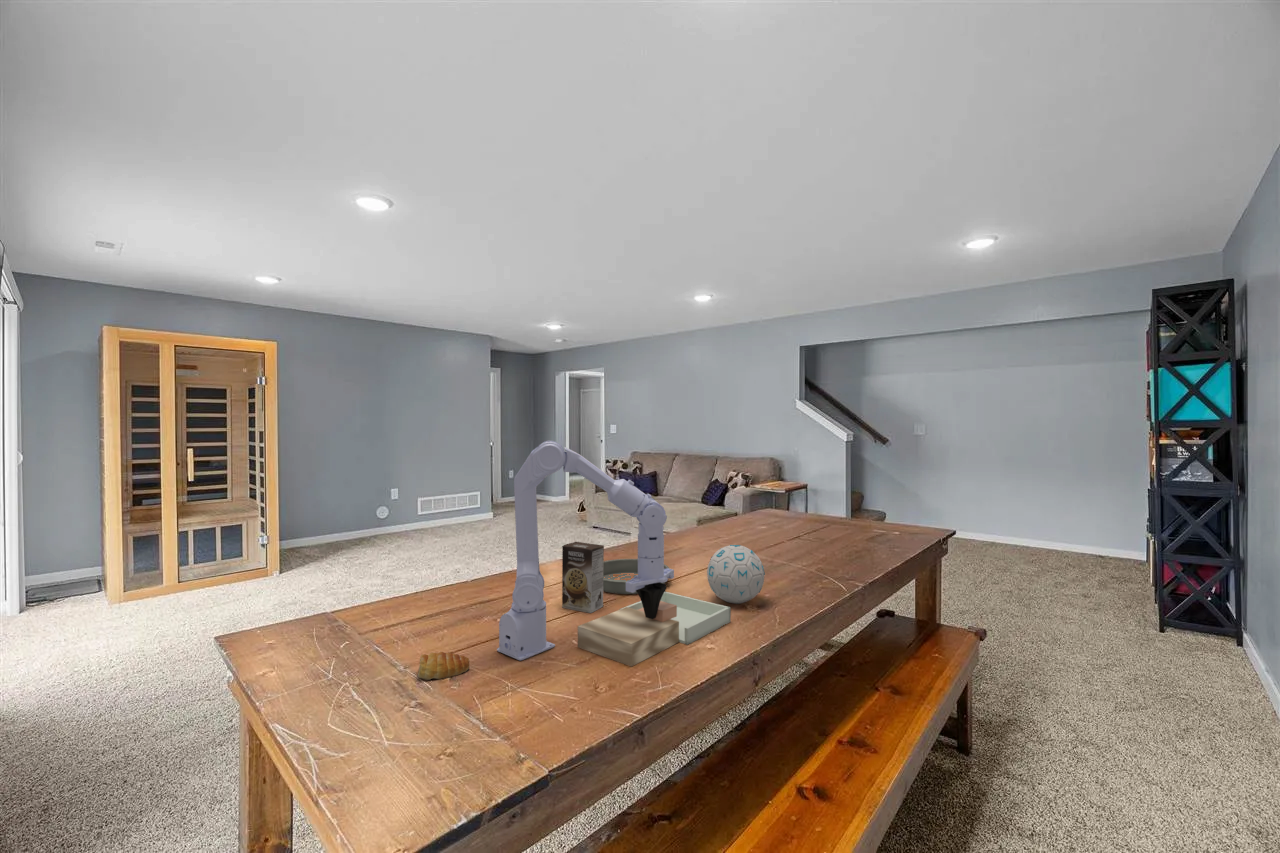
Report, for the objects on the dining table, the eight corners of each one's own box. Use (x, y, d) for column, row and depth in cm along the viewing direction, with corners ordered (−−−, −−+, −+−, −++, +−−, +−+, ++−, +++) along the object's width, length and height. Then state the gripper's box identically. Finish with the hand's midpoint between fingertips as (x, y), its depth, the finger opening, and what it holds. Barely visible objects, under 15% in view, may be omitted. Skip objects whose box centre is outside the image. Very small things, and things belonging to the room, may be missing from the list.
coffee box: (560, 608, 148) (560, 545, 147) (575, 601, 153) (575, 540, 153) (591, 613, 143) (591, 549, 143) (604, 606, 149) (604, 544, 149)
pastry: (469, 662, 115) (469, 643, 115) (470, 677, 109) (470, 657, 109) (419, 668, 112) (418, 649, 112) (417, 684, 106) (416, 663, 106)
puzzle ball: (775, 607, 149) (776, 549, 148) (724, 614, 143) (725, 554, 143) (744, 590, 163) (744, 537, 163) (696, 596, 157) (696, 542, 157)
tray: (687, 644, 124) (687, 628, 124) (619, 623, 136) (619, 609, 136) (730, 621, 138) (730, 607, 138) (665, 604, 150) (665, 591, 150)
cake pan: (575, 578, 176) (575, 563, 176) (648, 569, 186) (648, 555, 186) (604, 601, 154) (604, 584, 154) (685, 590, 164) (685, 574, 164)
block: (631, 666, 113) (631, 643, 113) (577, 647, 123) (577, 626, 122) (678, 642, 125) (678, 621, 125) (626, 626, 135) (626, 607, 135)
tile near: (662, 622, 125) (662, 610, 125) (645, 616, 128) (645, 605, 128) (676, 616, 129) (676, 605, 129) (659, 611, 132) (659, 600, 132)
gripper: (644, 565, 117) (643, 631, 117) (685, 552, 128) (684, 612, 129) (618, 559, 122) (618, 623, 122) (659, 547, 133) (659, 606, 133)
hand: (650, 617), depth 126 cm, fingers closed
